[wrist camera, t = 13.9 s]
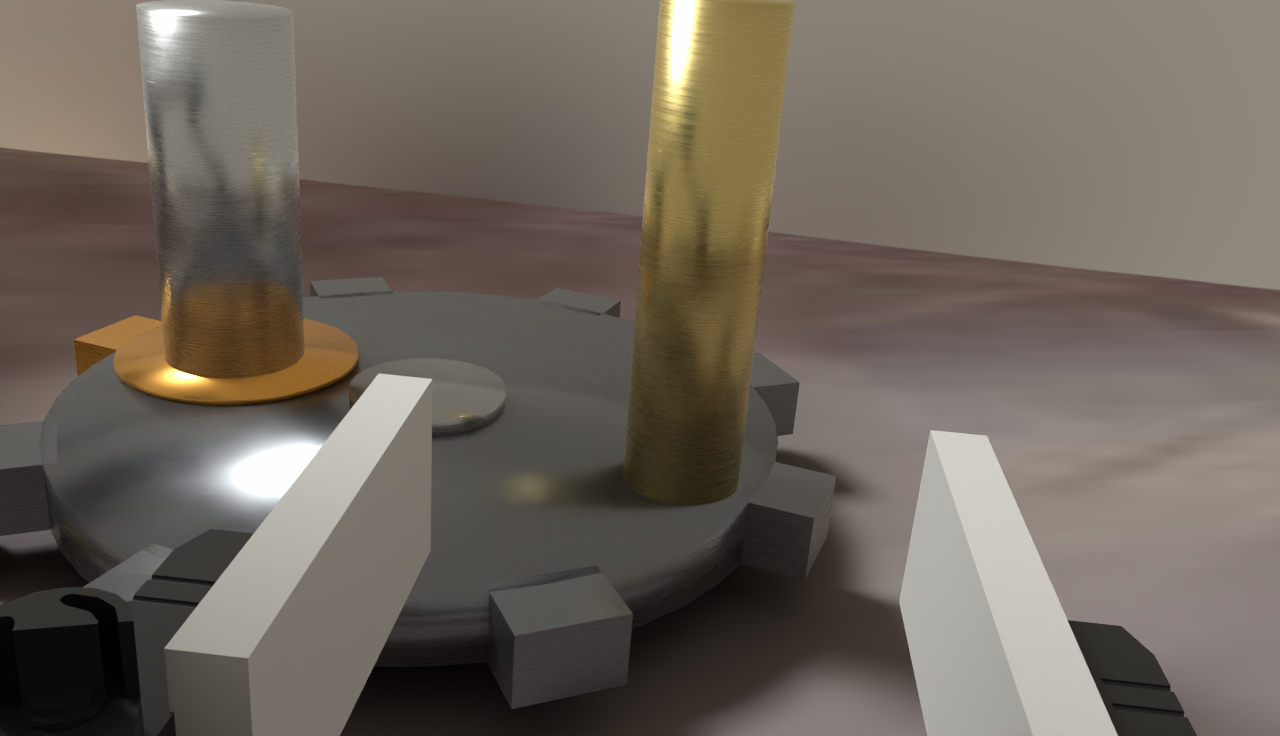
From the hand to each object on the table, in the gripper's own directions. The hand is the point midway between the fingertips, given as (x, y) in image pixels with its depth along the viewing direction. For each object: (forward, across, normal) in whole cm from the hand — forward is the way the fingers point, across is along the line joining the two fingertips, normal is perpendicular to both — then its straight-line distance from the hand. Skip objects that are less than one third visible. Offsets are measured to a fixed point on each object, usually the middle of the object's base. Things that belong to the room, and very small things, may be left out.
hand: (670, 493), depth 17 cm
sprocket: (+16, -7, -8) cm, 19 cm away
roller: (+18, -14, -6) cm, 23 cm away
